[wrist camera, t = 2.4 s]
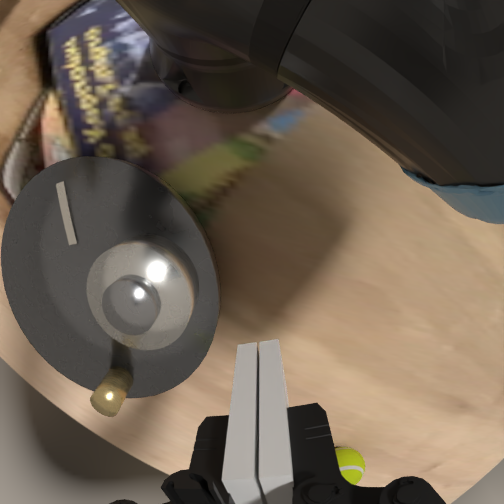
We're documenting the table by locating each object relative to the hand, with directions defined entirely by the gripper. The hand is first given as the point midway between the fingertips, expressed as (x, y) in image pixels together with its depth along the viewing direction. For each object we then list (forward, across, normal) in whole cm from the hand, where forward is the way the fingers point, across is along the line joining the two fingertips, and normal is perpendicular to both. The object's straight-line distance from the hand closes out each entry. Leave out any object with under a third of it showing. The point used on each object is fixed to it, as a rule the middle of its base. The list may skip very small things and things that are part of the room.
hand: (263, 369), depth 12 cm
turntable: (+17, -17, 0) cm, 24 cm away
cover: (+15, -10, 0) cm, 18 cm away
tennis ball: (+19, +6, -31) cm, 37 cm away
